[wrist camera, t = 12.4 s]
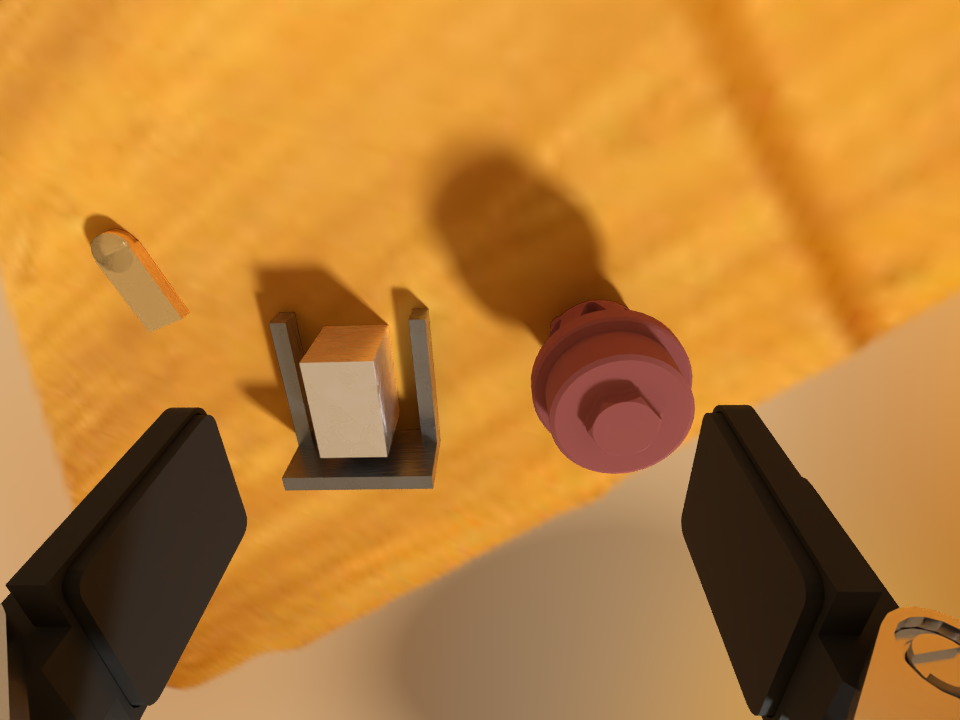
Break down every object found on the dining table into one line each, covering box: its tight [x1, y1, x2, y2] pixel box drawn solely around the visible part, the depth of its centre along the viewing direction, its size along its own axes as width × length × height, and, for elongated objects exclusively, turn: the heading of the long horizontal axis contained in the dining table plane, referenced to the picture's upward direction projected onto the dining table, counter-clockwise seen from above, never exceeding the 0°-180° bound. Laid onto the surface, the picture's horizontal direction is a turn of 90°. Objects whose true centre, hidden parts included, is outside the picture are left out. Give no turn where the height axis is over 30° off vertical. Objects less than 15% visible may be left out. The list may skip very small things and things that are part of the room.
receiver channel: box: [269, 309, 440, 490], centre depth 41 cm, size 12×11×6 cm
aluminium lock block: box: [299, 325, 400, 458], centre depth 41 cm, size 9×5×6 cm, turn 2°
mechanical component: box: [531, 300, 695, 474], centre depth 36 cm, size 12×10×10 cm
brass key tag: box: [91, 229, 190, 332], centre depth 40 cm, size 7×3×1 cm, turn 22°
